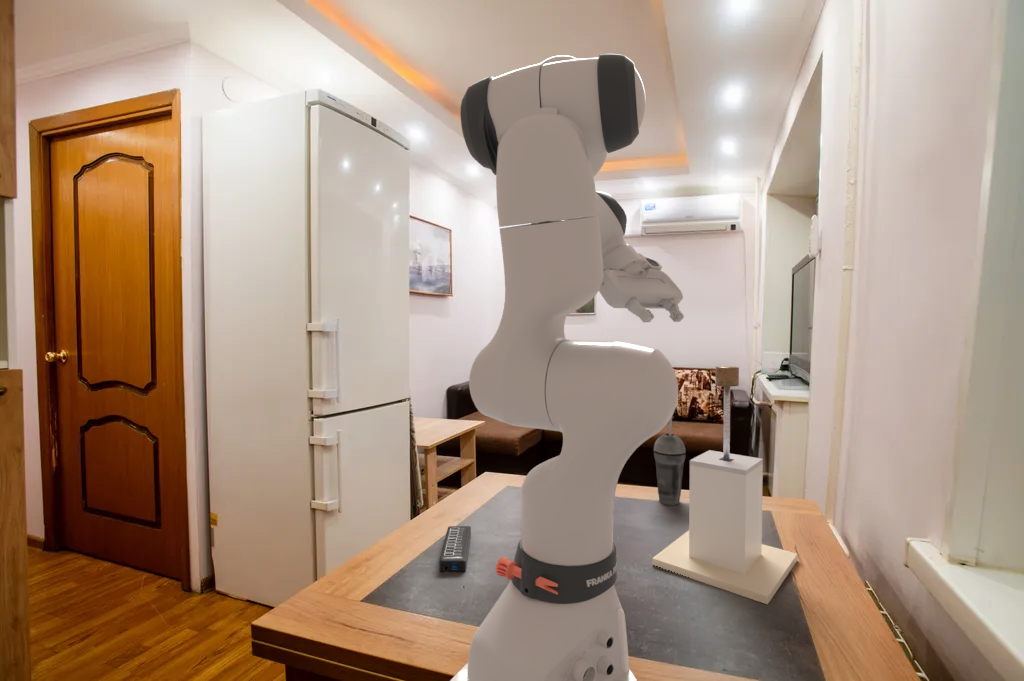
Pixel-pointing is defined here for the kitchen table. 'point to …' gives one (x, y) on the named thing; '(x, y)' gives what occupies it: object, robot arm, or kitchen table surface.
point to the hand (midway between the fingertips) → (665, 319)
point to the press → (727, 530)
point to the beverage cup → (669, 466)
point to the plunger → (727, 401)
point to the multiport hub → (455, 550)
